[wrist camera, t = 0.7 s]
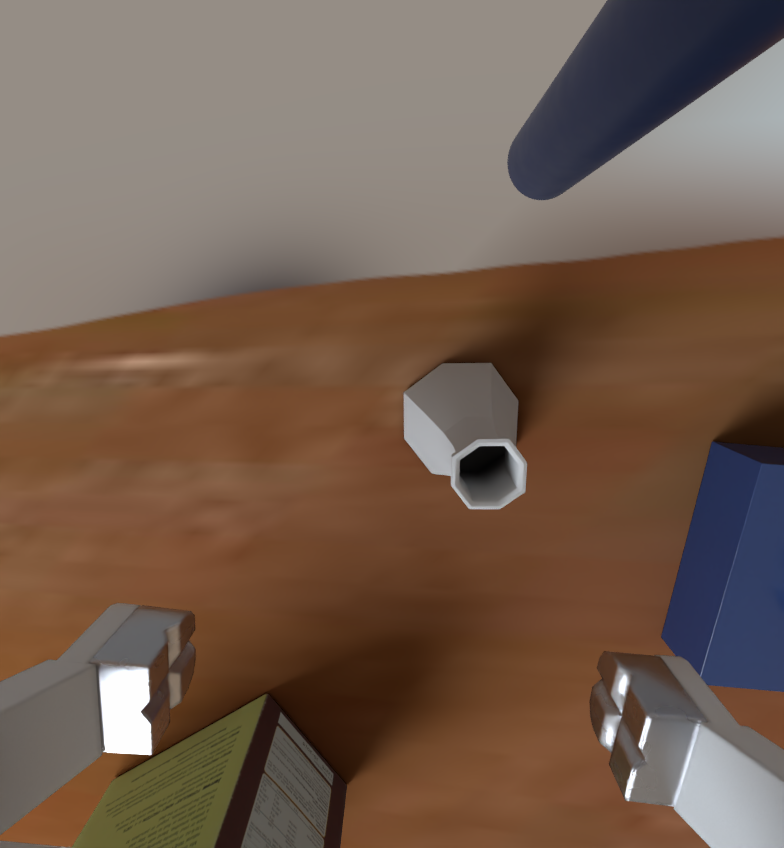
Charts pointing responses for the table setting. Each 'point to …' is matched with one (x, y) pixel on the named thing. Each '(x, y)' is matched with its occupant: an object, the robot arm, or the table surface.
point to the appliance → (734, 572)
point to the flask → (467, 432)
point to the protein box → (226, 791)
